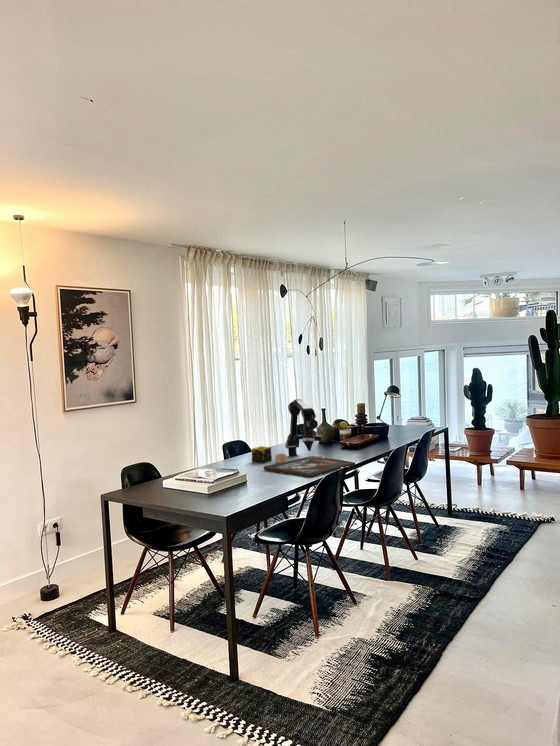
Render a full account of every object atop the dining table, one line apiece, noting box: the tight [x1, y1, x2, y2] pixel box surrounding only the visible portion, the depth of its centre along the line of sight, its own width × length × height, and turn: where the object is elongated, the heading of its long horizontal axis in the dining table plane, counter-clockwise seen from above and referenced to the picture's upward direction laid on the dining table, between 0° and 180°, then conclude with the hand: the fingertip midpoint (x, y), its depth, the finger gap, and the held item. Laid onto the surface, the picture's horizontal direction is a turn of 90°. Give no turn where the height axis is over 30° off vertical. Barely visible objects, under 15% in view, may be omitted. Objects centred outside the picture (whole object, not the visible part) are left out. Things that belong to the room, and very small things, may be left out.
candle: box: [251, 445, 273, 464], centre depth 378 cm, size 10×10×10 cm
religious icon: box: [263, 456, 356, 478], centre depth 351 cm, size 40×45×3 cm
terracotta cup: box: [274, 453, 287, 464], centre depth 372 cm, size 7×7×6 cm
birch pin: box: [307, 454, 325, 460], centre depth 363 cm, size 3×3×10 cm
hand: (309, 451), depth 359 cm, fingers closed
